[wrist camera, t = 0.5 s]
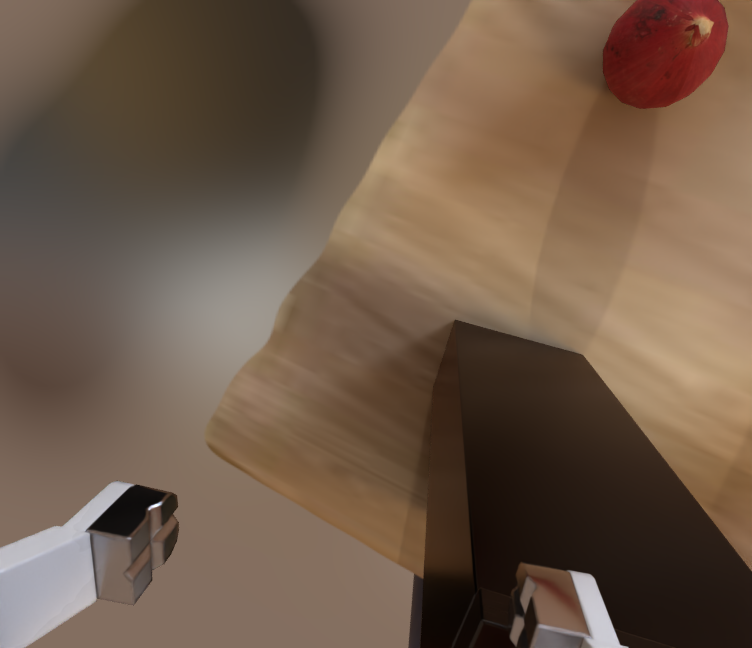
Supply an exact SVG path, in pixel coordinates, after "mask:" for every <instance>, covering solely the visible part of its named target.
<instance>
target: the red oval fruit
mask: <svg viewBox="0 0 752 648" xmlns="http://www.w3.org/2000/svg"><path fill="white" fill-rule="evenodd" d="M728 27H729V26H728V22H727V17H726V13H725V9H724V7H723V6H722V4H721V3H720V2H719V1H718V0H637V1H635V2H634V4H633V5H632V6H631V7H630V8H629V9H628V10H627V11H626V12H625V13H624V14H623V15H622V16H621V17H620V18H619V19H618V20H617V21H616V23H615V24H614V26H613V28H612V30H611V33H610V35H609V37H608V40H607V42H606V45H605V47H604V49H603V73H604V76H605V79H606V82H607V84H608V87H609V90H610V91H611V92H612V93H613V94H614V95H615V96H616V97H617V98H618V99H619V100H620V101H621V102H622V103H625V104H628V105H631V106H633V107H636V108H640V109H646V108H659V107H667V106H669V105H671V104H673V103H675V102H677V101H679V100H681V99H683V98H685V97H687V96H688V95H690V94H691V93H692V92H694V91H695V90H696V89H697V88H698V87H699V86H700V85H701V84H702V83H703V82H704V81H705V80H706V79H707V78H708V77H709V76H710V75H711V73H712V72H713V70H714V69H715V67H716V65H717V63H718V61H719V60H720V58H721V56H722V54H723V52H724V51H725V45H726V39H727V33H728Z"/></svg>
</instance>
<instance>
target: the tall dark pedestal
mask: <svg viewBox="0 0 752 648" xmlns="http://www.w3.org/2000/svg"><path fill="white" fill-rule="evenodd" d="M520 562H526V563H532V564H537V565H542V566H548V567H553V568H558V569H563V570H566V571H567V570H570V571H576V572H581V573H587V574H591V575H592V576H593V577H594V578H595V581H596V584H597V586H598V589H599V591H600V594H601V596H602V599H603V602H604V604H605V607H606V609H607V612H608V615H609V617H610V620H611V622H612V625H613V628H614V630H615V633H616V635H617V638H618V640H619V643H620V645H622V646H626V647H628V648H752V571H751V570H750V569H749V567H748V566H747V565H746V563H745V562H744V561H743V560H742V558H741V557H740V556H739V554H738V553H737V552H736V551H735V549H734V548H733V547H732V545H731V544H730V543H729V542H728V540H727V539H726V538H725V536H724V535H723V534H722V533H721V531H720V530H719V529H718V527H717V526H716V525H715V524H714V522H713V521H712V520H711V519H710V517H709V516H708V515H707V513H706V512H705V511H704V510H703V508H702V507H701V506H700V504H699V503H698V502H697V501H696V499H695V498H694V497H693V495H692V494H691V493H690V492H689V490H688V489H687V488H686V486H685V485H684V484H683V483H682V481H681V480H680V479H679V477H678V476H677V475H676V474H675V472H674V471H673V470H672V468H671V467H670V466H669V465H668V463H667V462H666V461H665V460H664V458H663V457H662V456H661V454H660V453H659V452H658V451H657V449H656V448H655V447H654V445H653V444H652V443H651V442H650V440H649V439H648V438H647V436H646V435H645V434H644V433H643V431H642V430H641V429H640V427H639V426H638V425H637V424H636V422H635V421H634V420H633V418H632V417H631V416H630V415H629V413H628V412H627V411H626V410H625V408H624V407H623V406H622V404H621V403H620V402H619V401H618V399H617V398H616V397H615V395H614V394H613V393H612V392H611V390H610V389H609V388H608V386H607V385H606V384H605V383H604V381H603V380H602V379H601V377H600V376H599V375H598V374H597V372H596V371H595V370H594V368H593V367H592V366H591V365H590V363H589V362H588V361H587V360H586V358H585V357H584V356H583V355H581V354H578V353H574V352H570V351H567V350H563V349H560V348H556V347H552V346H549V345H545V344H541V343H538V342H534V341H531V340H527V339H523V338H520V337H516V336H512V335H509V334H505V333H502V332H498V331H494V330H491V329H487V328H483V327H480V326H476V325H473V324H469V323H465V322H462V321H458V320H455V321H454V323H453V327H452V330H451V333H450V336H449V339H448V342H447V345H446V348H445V352H444V355H443V358H442V361H441V364H440V367H439V370H438V374H437V377H436V380H435V383H434V386H433V403H432V422H431V442H430V462H429V481H428V501H427V521H426V540H425V560H424V580H423V599H422V619H421V638H420V648H516V646H515V645H514V644H513V642H512V641H511V640H510V638H509V630H508V604H509V599H510V594H511V590H512V589H514V588H515V587H517V580H516V572H517V568H518V565H519V564H520Z"/></svg>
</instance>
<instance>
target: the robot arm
mask: <svg viewBox="0 0 752 648" xmlns="http://www.w3.org/2000/svg"><path fill="white" fill-rule="evenodd" d="M177 507H178V501H177V495H176V494H174V493H172V492H167V491H163V490H158V489H154V488H149V487H145V486H140V485H133V484H129V483H125V482H121V481H115V482H112V483H110V484H109V485H108V486H106V487H105V488H104V489H103V490H102V491H101V492H100V493H99V494H98V495H96V496H95V497H94V498H93V499H92V500H91V501H90V502H89V503H88V504H86V505H85V506H84V507H83V508H82V509H81V510H80V511H79V512H78V513H76V514H75V515H74V516H73V517H72V518H71V519H70V520H69V521H68V522H66V523H65V524H64V525H63V526H62V527H59V526H54V527H51V528H49V529H46V530H44V531H41V532H39V533H36V534H34V535H31V536H29V537H26V538H24V539H21V540H19V541H16V542H14V543H11V544H9V545H6V546H4V547H1V548H0V648H25V647H27V646H28V645H30V644H31V643H33V642H35V641H36V640H37V639H39V638H41V637H42V636H44V635H45V634H47V633H48V632H50V631H51V630H53V629H55V628H56V627H57V626H59V625H60V624H62V623H64V622H65V621H67V620H68V619H70V618H71V617H73V616H74V615H76V614H77V613H79V612H81V611H82V610H84V609H85V608H87V607H88V606H90V605H91V604H93V603H94V602H96V601H97V599H103V600H107V601H112V602H118V603H123V604H128V605H134V604H135V603H136V602H137V600H138V599H139V598H140V596H141V595H142V594H143V592H144V591H145V589H146V588H147V587H148V585H149V584H150V582H151V581H152V570H154V569H156V568H158V567H160V566H161V565H163V564H164V563H165V562H166V561H167V559H168V558H169V556H170V555H171V553H172V551H173V549H174V546H175V544H176V542H177V537H178V531H179V522H178V521H177V519H176V518H175V517H174V515H173V513H174V511H175V510H176V509H177ZM516 580H517V587H515V588H514V589H512V590H511V594H510V599H509V604H508V630H509V638H510V640H511V641H512V642H513V644H514V645H515V646H516V648H628V647H626V646H622V645H620V643H619V640H618V638H617V635H616V633H615V630H614V628H613V625H612V622H611V620H610V617H609V615H608V612H607V609H606V607H605V604H604V602H603V599H602V596H601V594H600V591H599V589H598V586H597V584H596V581H595V578H594V577H593V576H592V575H591V574H587V573H581V572H576V571H570V570H567V571H566V570H563V569H558V568H553V567H548V566H542V565H537V564H532V563H526V562H520V564H519V565H518V568H517V572H516Z"/></svg>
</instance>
